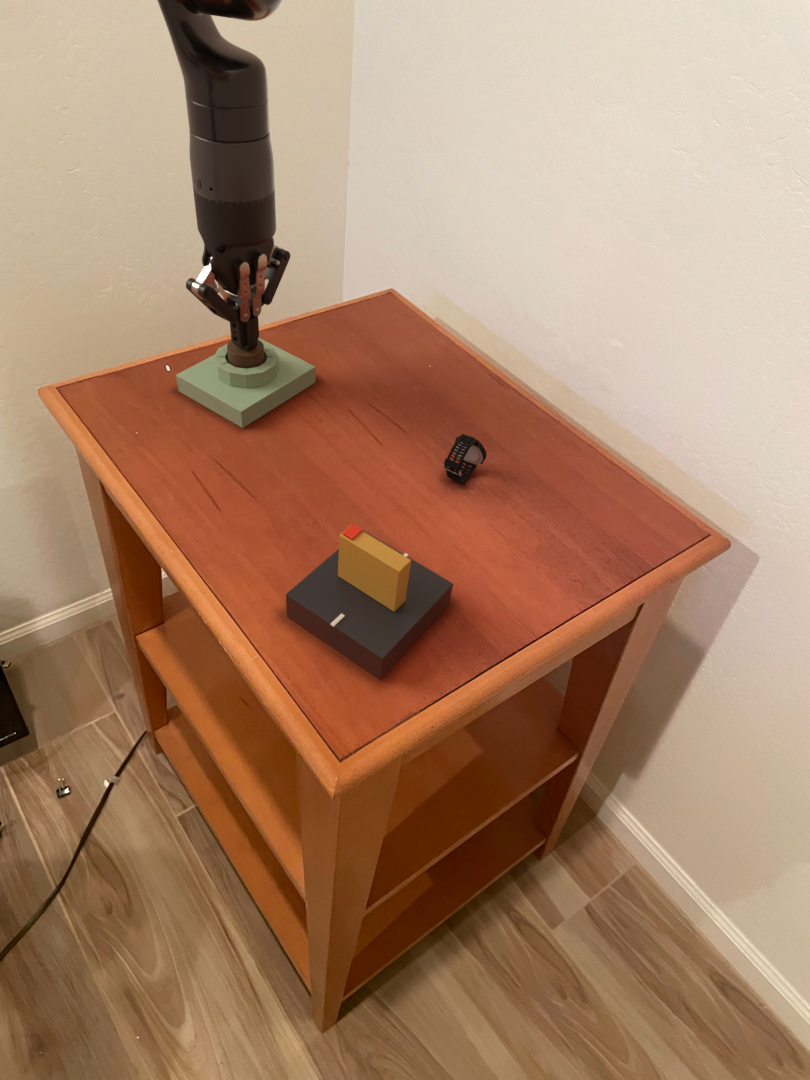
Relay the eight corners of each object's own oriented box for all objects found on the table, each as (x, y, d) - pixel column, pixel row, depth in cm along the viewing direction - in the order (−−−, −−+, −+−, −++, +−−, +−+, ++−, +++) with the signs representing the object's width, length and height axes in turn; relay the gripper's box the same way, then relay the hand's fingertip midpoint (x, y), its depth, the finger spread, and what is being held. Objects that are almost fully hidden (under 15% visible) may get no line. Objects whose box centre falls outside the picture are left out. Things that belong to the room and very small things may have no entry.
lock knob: (405, 600, 61) (411, 557, 57) (394, 612, 60) (399, 569, 56) (349, 565, 63) (351, 521, 59) (337, 576, 62) (339, 532, 58)
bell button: (246, 374, 80) (245, 360, 79) (220, 360, 82) (219, 346, 80) (272, 359, 83) (271, 346, 81) (246, 346, 84) (245, 332, 83)
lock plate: (379, 681, 58) (382, 658, 56) (285, 617, 62) (284, 593, 60) (449, 605, 65) (454, 581, 62) (360, 551, 68) (362, 527, 66)
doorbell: (242, 428, 79) (239, 397, 76) (178, 391, 83) (173, 360, 80) (315, 382, 86) (315, 352, 84) (253, 350, 90) (251, 320, 87)
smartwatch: (487, 480, 77) (496, 442, 73) (449, 497, 74) (456, 459, 71) (462, 458, 79) (469, 420, 75) (425, 474, 77) (430, 436, 73)
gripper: (209, 214, 63) (226, 384, 75) (311, 176, 71) (311, 336, 83) (150, 188, 66) (176, 356, 78) (254, 155, 74) (263, 312, 86)
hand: (246, 345), depth 81 cm, fingers closed
